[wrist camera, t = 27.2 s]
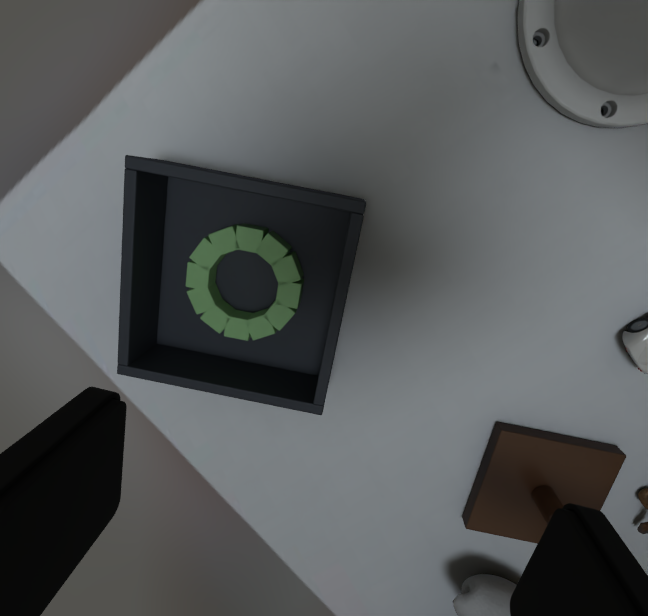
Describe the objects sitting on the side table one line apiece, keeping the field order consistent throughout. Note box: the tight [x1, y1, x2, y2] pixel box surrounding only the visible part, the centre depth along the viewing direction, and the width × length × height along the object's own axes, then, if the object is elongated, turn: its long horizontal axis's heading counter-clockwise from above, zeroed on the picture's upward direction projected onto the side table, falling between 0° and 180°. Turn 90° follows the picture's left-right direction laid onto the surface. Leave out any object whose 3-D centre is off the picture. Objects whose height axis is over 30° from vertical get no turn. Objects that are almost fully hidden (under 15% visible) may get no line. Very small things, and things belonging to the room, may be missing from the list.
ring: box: [186, 223, 304, 341], centre depth 27 cm, size 8×8×2 cm
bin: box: [117, 155, 366, 415], centre depth 26 cm, size 13×13×4 cm
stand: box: [462, 422, 626, 543], centre depth 29 cm, size 9×9×4 cm
